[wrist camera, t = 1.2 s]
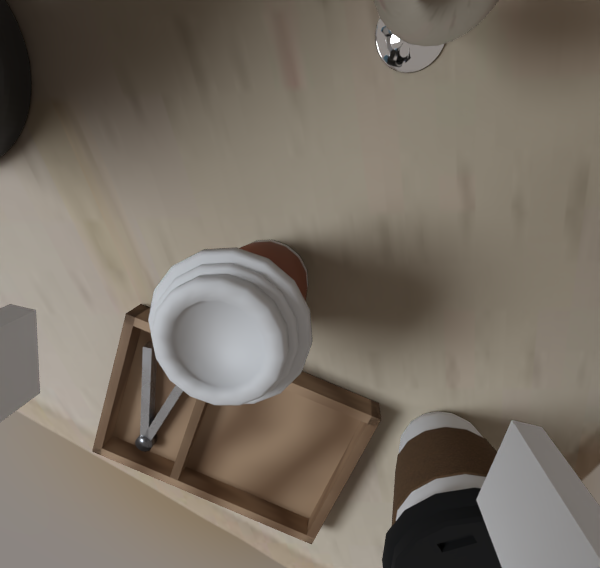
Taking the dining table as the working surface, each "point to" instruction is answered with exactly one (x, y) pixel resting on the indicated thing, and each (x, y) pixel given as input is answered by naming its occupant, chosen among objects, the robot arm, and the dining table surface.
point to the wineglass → (423, 28)
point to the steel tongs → (152, 401)
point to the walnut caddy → (240, 441)
